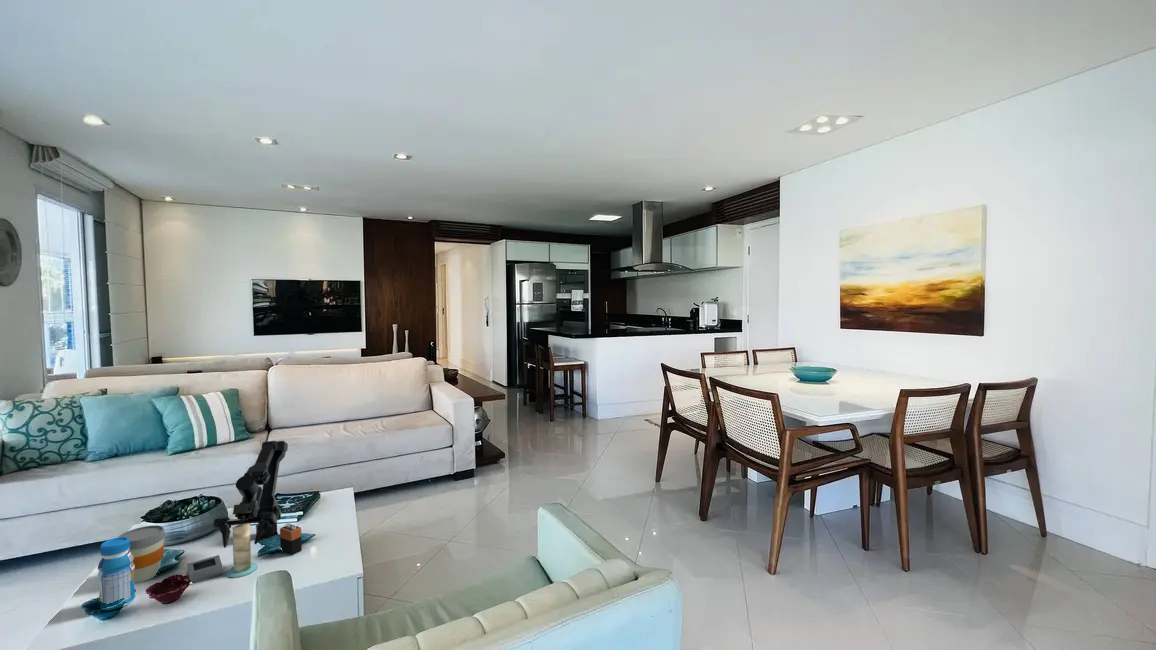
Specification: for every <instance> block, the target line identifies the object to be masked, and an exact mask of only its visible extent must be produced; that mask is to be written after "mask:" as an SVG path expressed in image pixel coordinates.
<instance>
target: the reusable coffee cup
mask: <svg viewBox="0 0 1156 650" xmlns="http://www.w3.org/2000/svg"><path fill="white" fill-rule="evenodd" d="M118 537H129V539H130V549H129V550H128V551H129V552H131V554H132V555H133V557H134V560H133V563H134V565H135V569H134V584H137V583H143V582H144V581H148V580H151V579H152V578H154V576H155V575H156V573H157V571H158V569H159V568H160V569H161V563H162V559H163V558H164V551H165V542H164V539H165V537H166V531H165V528H164V526H163V525H152V524H151V525H145V526H141V527H137V528H133V529H130V530H128V531H125V532H123V533H121V534H120V535H119V536H118ZM156 576H157V575H156ZM156 576H155V577H156Z"/></svg>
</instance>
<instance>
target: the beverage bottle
mask: <svg viewBox="0 0 1156 650" xmlns="http://www.w3.org/2000/svg"><path fill="white" fill-rule="evenodd" d="M99 548H100V552H99V553H100V556H101V559H100V560H99V562H98V565H97V570H98V573H97V580H98V591H99V593H98V594H99V595H98V596H99V602H100V601H101V602H102V603H106V604H109V603H113V602H115V601H117V600H120V599H122V598H125V599H126V605H127V606H128V605H130V604H132V603H133V602H134V601H135V599H136V592H135V583H134V569H135V565H134V563H133V560H134V557H133V555H132V554H131V552H129V551H128V550H129V549H130V539H129V537H119V536H118V537H114V538H111V539H108V540H105V541H104V542H102V543H101V545H100V547H99Z"/></svg>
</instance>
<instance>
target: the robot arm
mask: <svg viewBox="0 0 1156 650" xmlns="http://www.w3.org/2000/svg"><path fill="white" fill-rule="evenodd" d="M288 447H289V444H288V443H287V442H286V441H285V440H266V441H263V442H262V444H261V449H260V451H259V453H258V456H257V458H256V460H255V463H254V464H253V465H252V466H250V467H249V468H248V469H247V471H246V472H244V474H243V476H241V477H239V478H238V480H236V481H235V488H236V489H237V491H238V493H239V494H240V495H241V496H242V499H241V501H240V503H239V504H234V505H233V509H232V515H233V516H235V518H236V519H233V518H232V519H230V517H228V516H220V517H219V516H217V517H216V518H214V520H213V522H212V527H213V528H214V529H215V530H216V531H217V532H220V534H221V536H222V544H223V545H222V546H223V548H224V549H226V548H227V546H228V542H229V539H230V535H231V528H232V526H237V525H241V524H256V525H255V537H254V541H253V542H254V545H257V544H258V542H260V541H261V540H260V539H262V540H264V539H263V538H265V539H269V538H272V536H273V537H276V536H278V535H279V532H278V521H279V520H281V519H282V513H281V511H282V510H281V509H280V507H279V505H278V501H277V500H276V497H275V495H276V488H277V482H278V476H279V468H280V463H281V462H282V460H284V458H285V456H286V452H287V451H288V449H289V448H288ZM261 486H262V487H261ZM275 535H276V536H275ZM268 537H269V538H268Z"/></svg>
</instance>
